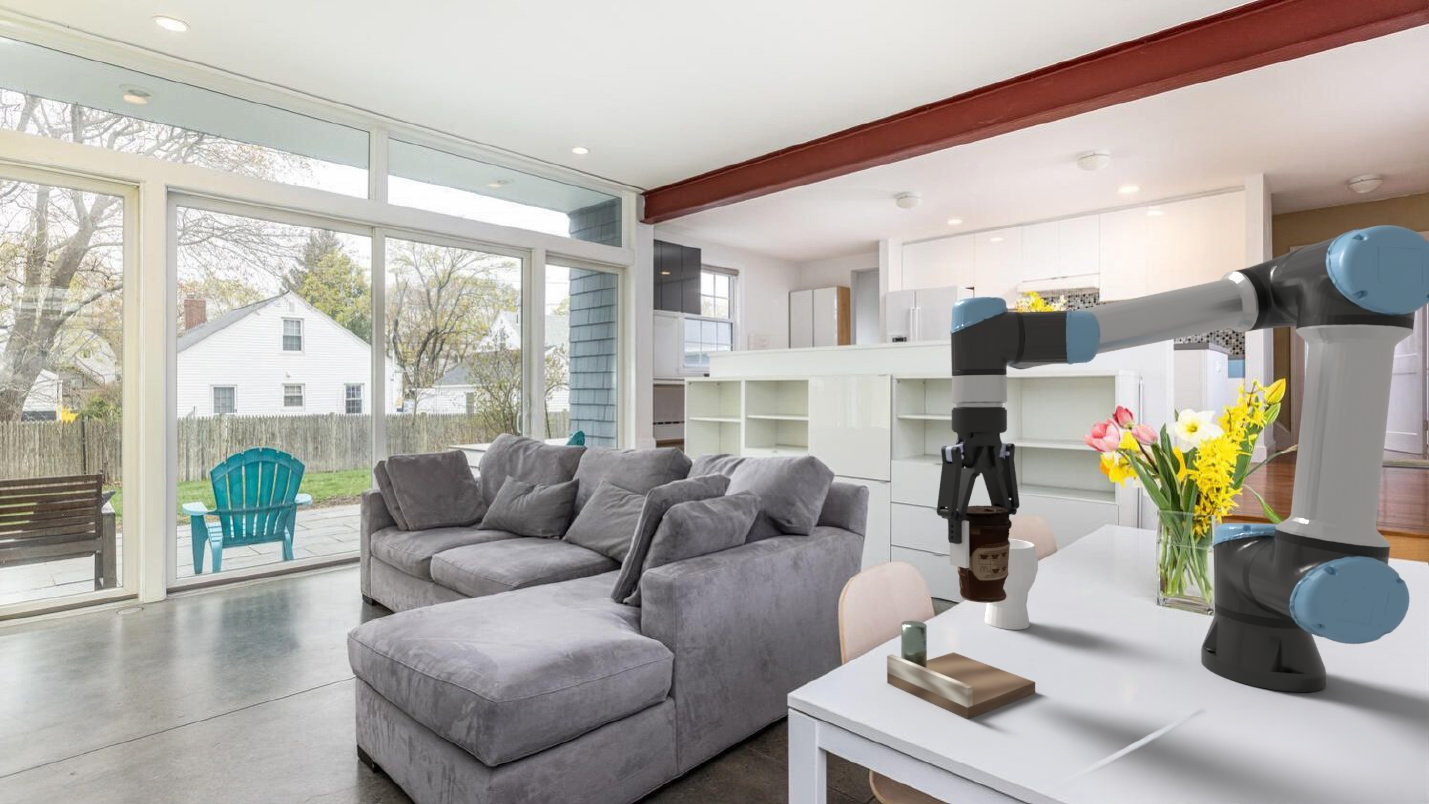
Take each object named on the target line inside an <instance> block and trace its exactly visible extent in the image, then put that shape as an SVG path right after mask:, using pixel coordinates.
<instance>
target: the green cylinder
mask: <svg viewBox="0 0 1429 804" xmlns="http://www.w3.org/2000/svg"><path fill="white" fill-rule="evenodd" d="M900 627H901V628H900V629H901V631H900V632H901V633H900V635H901V637H900V641H901V645H900V646H901V649H900V653H901V655H900V656H901V657H900V658H902V659H905V660H907V661H910V662H912V663H915V664H917V665H920V666H922V667H925V668H927V660H928V657H927V656H928V655H927V654H928V649H927V648H928V647H927V645H928V644H927V642H928V639H927V638H928V637H927V635H928V634H927V632H928V631H927V630H928V629H927V627H928V626H927V624H926V623H924V622H921V621H917V620H904V621H902V622H901V624H900Z"/></svg>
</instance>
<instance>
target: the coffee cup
mask: <svg viewBox="0 0 1429 804" xmlns="http://www.w3.org/2000/svg"><path fill="white" fill-rule="evenodd" d="M957 511H958V509H957ZM1010 515H1011V513H1010V511H1009V510H1007V508H1001V507H996V506H992V505H968V508H967V512H966V515H965V519H964V520H965V521H969V568H963V567H958V566H956V567H957V568H956V569H957V573H958V575H959V578H958V584H959V595H960V597H961V598H962V600H963V599H964V600H965V601H968V602H974V603H982V604H983V603H984V604H985V603H986V604H987V603H992V602H1000V601H1003V600H1005V599H1006V598H1007V596H1006V593H1005V590H1004V589H1003V587H1004V583H1005V580H1006V578H1007V576H1008V560H1009V548H1010V542H1009V540H1008V538H1009V539H1010V529H1011V528H1012V520H1011V519H1010Z"/></svg>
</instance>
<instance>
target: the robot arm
mask: <svg viewBox="0 0 1429 804" xmlns="http://www.w3.org/2000/svg"><path fill="white" fill-rule="evenodd" d="M1428 304H1429V241H1428V240H1427V239H1426V238H1425V237H1424V235H1423V234H1421V233H1419V232H1417V231H1414V230H1412V229H1409V228H1406V227H1403V226H1398V225H1390V224H1389V225H1386V224H1385V225H1384V224H1383V225H1376V226H1371V227H1366V228H1357V229H1352V230H1349V231H1347V232H1344V233H1342V234H1341V235H1338V236H1335V237H1332V238H1329V239H1326V240H1323V241H1321V242H1320V241H1319V242H1317V243H1312V244H1310V245H1306V246H1304V247H1300V248H1297V249H1295V250H1292V251H1289V252H1287V253H1284V254H1283V255H1280V256H1277V257H1274V258H1272V259H1269V260H1266V261H1264V262H1262V263H1258V264H1255V265H1252V266H1249V267H1245V268H1241V269H1237V270H1232V271H1228V272H1226V273H1225V274H1223V276H1221V278H1220V280H1216V281H1211V282H1206V283H1201V284H1196V285H1192V286H1186V287H1182V288H1177V289H1173V290H1167V291H1163V292H1159V293H1152V294H1149V295H1143V296H1138V297H1134V298H1129V299H1125V300H1121V301H1115V302H1110V303H1105V304H1101V305H1096V306H1090V307H1088V308H1081V309H1076V310H1072V309H1067V310H1049V311H1045V310H1044V311H1027V312H1026V311H1024V312H1023V311H1022V312H1019V311H1010V310H1008V309H1009V308H1008V307H1007V301H1006V300H1005V299H1004V298H1002V297H997V296H995V297H991V296H980V297H978V296H977V297H970V298H963V299H960V300H958V301H957V302H955V303H954V305H952V309H951V327H950V328H951V329H950V332H949V333H950V349H951V352H950V353H951V356H950V357H951V359H950V360H951V362H950V363H951V402H952V403H953V404H956V406H955V407H952V409H951V430H952V431H953V433H956V434H957V438H956V441H955V445H951V446H950V445H948V446H947V445H943V446H941V449H940V451H941V452H940V453H941V459H942V461H941V462H942V466H941V473H940V481H939V487H938V489H939V490H938V499H937V506H936V514H937V516H938V517H941V518H942V519H944V520H945V519H946V520H947V526H948V527H947V534H948V535H947V539H948V540H947V541H948V543H949V565H951V566H955V567H957V566H958V567H963V568H969V521H965V520H964V519H965V515H966V512H967V508H968V506H970V505H969V504H970V502H971V501H970V500H971V497H972V493H973V490H974V486H975V483H976V478H978V477H980V475H982V477H983V481H984V484H985V487H986V490H987V494H988V498H989V501H990V504H991V506H996V507H1001V508H1007V510H1009V511H1010V513H1011V514H1010V515H1013V516H1015V515H1016V514H1017V513H1018V512H1017V509H1019V507H1020V498H1019V496H1020V495H1019V490H1018V480H1017V473H1016V464H1015V453H1016V452H1015V451H1016V445H1015V443H1013V442H1012V443H1010V442H1009V443H1007V442H1003V441H1002V440H1001V434H1003V433H1005V432H1007V430H1008V409H1006V407H1003V404H1006V403H1007V402H1008V380H1007V379H1008V376H1007V374H1008V373H1007V367H1009V368H1011V369H1014V370H1015V369H1016V370H1026V369H1030V368H1034V367H1035V368H1036V367H1042V366H1048V365H1056V364H1058V365H1059V364H1065V365H1066V364H1068V365H1073V364H1087V363H1089V362H1091V361H1092V360H1094V359H1095V357H1096V355H1099V354H1105V353H1109V352H1115V351H1119V350H1124V349H1130V348H1135V347H1141V346H1146V345H1152V344H1155V343H1161V342H1165V341H1171V340H1176V339H1181V338H1187V337H1192V336H1197V335H1203V334H1207V333H1208V334H1209V333H1212V332H1218V331H1222V330H1228V329H1230V330H1232V331H1234V332H1236V333H1240V334H1241V333H1247V332H1252V331H1258V330H1266V329H1277V328H1289V327H1290V328H1293V327H1295V334H1297V335H1298V336H1299V337H1300V338H1302V340H1303V341H1305V342H1306V343H1307V345H1308V349H1307V350H1308V351H1307V356H1306V357H1307V359H1306V368H1305V379H1304V387H1303V397H1302V405H1301V406H1302V407H1301V415H1300V416H1301V417H1300V424H1299V433H1298V436H1299V437H1298V445H1297V454H1296V463H1295V470H1294V471H1295V472H1294V482H1293V491H1292V500H1291V511H1290V515H1289V517H1288V518H1286V519H1284V520H1283V521H1281V522H1279V523H1278V524H1277V523H1276V524H1275V523H1252V522H1251V523H1249V522H1245V523H1242V522H1225V523H1220V524H1219V525H1217V526H1216V528H1215V530H1214V536H1213V537H1214V539H1213V543H1212V548H1213V581H1214V582H1213V583H1214V584H1213V585H1214V586H1213V587H1214V588H1213V589H1214V591H1213V593H1214V594H1213V595H1214V601H1213V602H1214V616H1213V619H1212V621H1211V623H1210V626H1209V627H1208V630H1207V633H1206V635H1205V639H1204V640H1203V642H1202V645H1201V649H1200V650H1201V651H1200V652H1201V653H1200V655H1201V656H1200V657H1201V658H1200V663H1201V664H1202V666H1203V667H1204V668H1206V669H1207V670H1209V671H1210V672H1213V673H1214V674H1215V675H1218V676H1221V677H1223V678H1226V679H1229V680H1231V681H1235V682H1238V683H1242V684H1244V685H1245V684H1246V685H1250V686H1252V687H1253V686H1254V687H1257V688H1263V689H1268V690H1275V691H1282V692H1292V693H1293V692H1296V693H1307V692H1317V691H1320V690H1323V689H1325V687H1326V686H1327V671H1326V670H1327V669H1326V666H1325V664H1324V662H1323V659H1322V656H1321V654H1320V652H1319V648H1318V645H1317V644H1316V641H1315V639H1314V636H1317V637H1320V638H1325V639H1327V640H1330V641H1333V642H1336V643H1341V644H1345V645H1347V644H1349V645H1359V644H1360V645H1361V644H1362V645H1363V644H1367V643H1371V642H1375V641H1378V640H1380V639H1381V638H1383V636H1385V635H1387V634H1388V635H1389V634H1391V633H1392V632H1393V631H1394V630H1396V629H1397V628H1398V627H1399V626H1400V624H1402V622H1403V621H1404V619H1405V617H1406V616H1407V613H1408V610H1409V606H1410V593H1409V588H1408V586H1407V584H1406V581H1405V580H1404V579H1402V578H1401V577H1400V574H1399V573H1398V571H1397V570H1395V568H1393V567H1392V566H1390V565H1389V557H1390V549H1391V544H1390V543H1391V542H1389V540H1387V539H1386V538H1385V536H1383V535H1382V534H1381V533H1380V532H1379V531H1378V529H1377V520H1378V510H1379V499H1380V491H1381V484H1382V483H1381V482H1382V473H1383V462H1384V454H1385V453H1384V452H1385V443H1386V435H1387V434H1386V433H1387V425H1388V416H1389V406H1390V395H1391V389H1392V378H1393V368H1394V359H1395V358H1394V357H1395V351H1396V350H1395V349H1396V346H1397V345H1398V344H1399V343H1401V342H1402V341H1404V340H1406V338H1408V337H1410V336H1411V335H1413V332H1414V326H1415V319H1416V312H1417V311H1419V309H1421V308H1423V307H1425V306H1427V305H1428ZM957 510H958V511H957ZM1009 539H1010V537H1009V538H1008V540H1009ZM1313 635H1314V636H1313Z"/></svg>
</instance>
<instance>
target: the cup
mask: <svg viewBox="0 0 1429 804" xmlns="http://www.w3.org/2000/svg"><path fill="white" fill-rule="evenodd" d="M1009 542H1010V548H1009V560H1008V576H1007V578H1006V580H1005V583H1004V587H1003V589H1004V590H1005V593H1006V596H1007V598H1006V599H1005V600H1003V601H1000V602H992V603H986V609H985V614H984V622H985V623H986V624H987V625H989V626H991V627H994V628H998V629H1004V630H1013V631H1015V630H1017V631H1018V630H1025V629H1028V628H1029V627H1030V625H1031V624H1030V618H1029V612H1028V606H1027V605H1028V604H1027V603H1028V596H1029V592H1030V590H1031V589H1032V586H1034V583H1035V580H1036V578H1037V575H1038V571H1039V559H1038V558H1039V557H1038V554H1037V549H1036V546H1035V544H1034V543H1032V542H1031V541H1026V540H1022V539H1016V538H1015V539H1014V538H1009Z"/></svg>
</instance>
